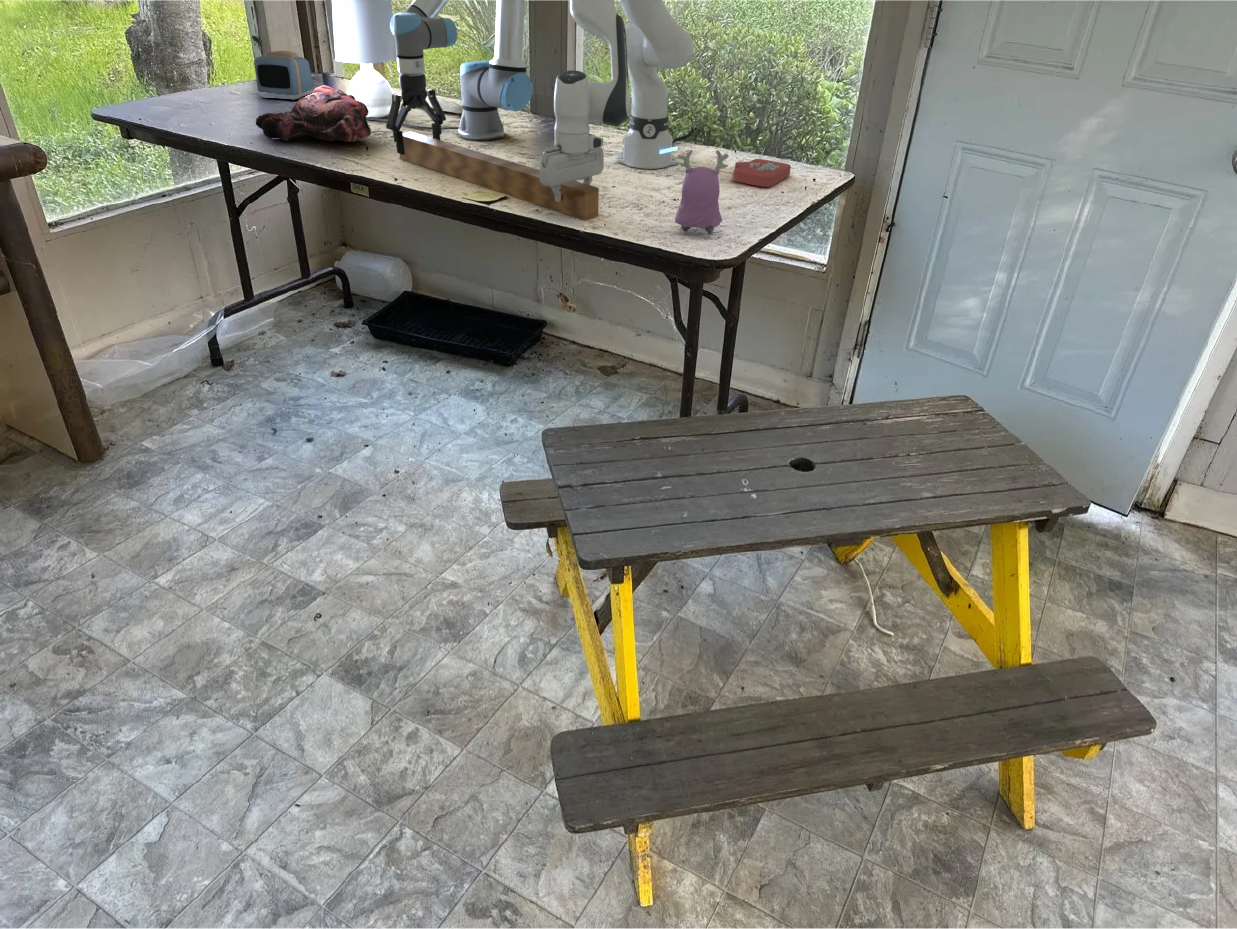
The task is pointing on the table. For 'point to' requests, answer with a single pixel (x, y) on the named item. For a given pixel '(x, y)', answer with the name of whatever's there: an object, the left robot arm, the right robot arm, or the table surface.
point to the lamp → (364, 47)
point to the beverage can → (329, 79)
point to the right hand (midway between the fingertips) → (571, 197)
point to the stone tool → (448, 106)
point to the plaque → (760, 172)
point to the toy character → (700, 195)
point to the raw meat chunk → (320, 117)
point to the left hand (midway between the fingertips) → (419, 149)
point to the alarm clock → (283, 73)
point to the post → (499, 175)
